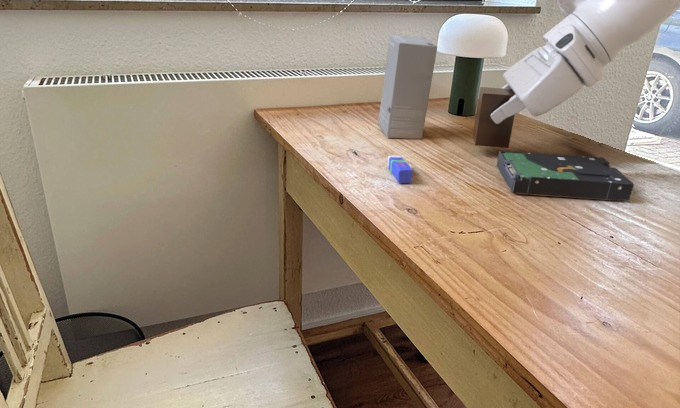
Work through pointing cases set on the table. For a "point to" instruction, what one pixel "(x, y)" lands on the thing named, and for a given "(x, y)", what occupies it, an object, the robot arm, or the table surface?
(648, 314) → the table surface
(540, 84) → the robot arm
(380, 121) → the cosmetic box
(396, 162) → the eraser
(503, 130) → the walnut block
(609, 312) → the table surface
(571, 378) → the table surface
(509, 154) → the disk drive
